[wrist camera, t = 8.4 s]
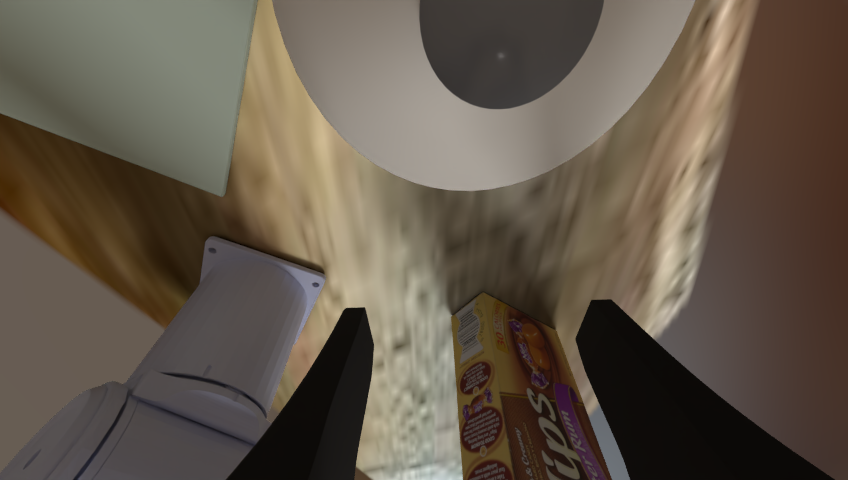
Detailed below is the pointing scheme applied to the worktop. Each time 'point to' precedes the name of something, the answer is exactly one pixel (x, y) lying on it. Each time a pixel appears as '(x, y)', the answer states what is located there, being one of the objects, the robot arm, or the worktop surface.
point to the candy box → (518, 399)
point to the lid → (476, 78)
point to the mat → (132, 78)
